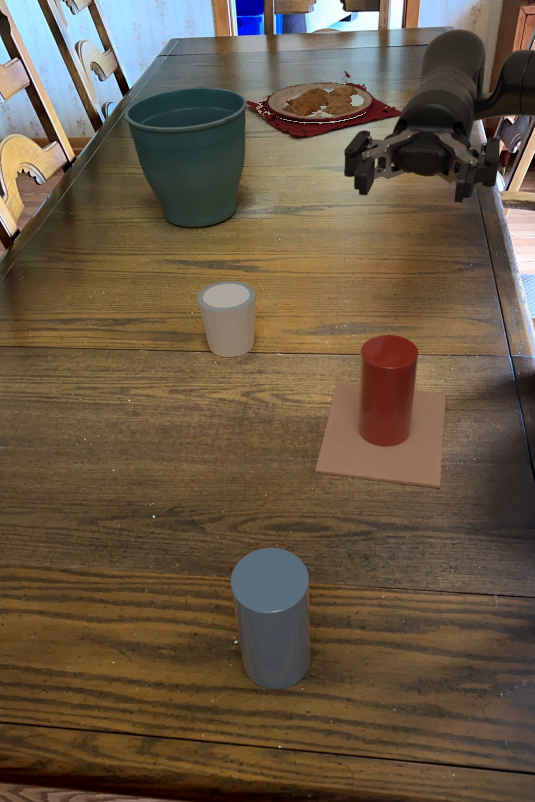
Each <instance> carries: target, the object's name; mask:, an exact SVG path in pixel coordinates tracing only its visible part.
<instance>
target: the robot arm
mask: <svg viewBox="0 0 535 802" xmlns="http://www.w3.org/2000/svg"><path fill="white" fill-rule="evenodd" d="M485 46H486V45H485V44H484V42H483V40H482V38H481V37H480V36H479V35H478V34H476V33H474V32H473V31H471V30H467V29H460V28H458V29H457V28H456V29H450V30H447V31H444V32H442V33H440V34H439V35H437V36H436V37H434V38H433V39H432V40H431V41H430V42H429V44H428V45H427V46H426V48H425V49H424V53H423V56H422V61H421V68H420V75H419V81H418V82H419V83H418V86H417V88H416V89H415V91H414V93H413V94H412V95H411V96H410V98H409V99H408V100H407V101H406V104H405V106H404V107H403V108H402V110H401V111H402V112H401V115H399V117H398V119H397V121H396V123H395V126H394V128H393V130H392V133H390V134H389V135H387V136H386V135H385V137H384V138H383V139H374V138H373V136H371V131H369V130H364V129H363V130H360V131H358V132H357V133H356V135H355V136H354V137H353V139H352V140H351V141H350V142H349V144H348V145H347V146H346V147H345V149H344V151H343V152H344V153H343V155H344V170H343V176H344V177H346V178H353V189H354V190H357V191H358V196H368V194H369V192H370V190H371V189H372V187H373V185H374V183H375V180H376V179H379V178H383V179H385V180H390V179H392V178H396V177H399V176H401V175H403V174H407V175H410V174H415V175H417V176H421V177H437V176H438V177H440V178H441V179H443V180H444V181H445V182H446V183H448V184H455V192H454V200H453V202H454V203H459V204H463V203H464V199H470V198H472V197H473V193H474V189H475V187H476V184H481V185H482V186H483V187H486V188H493V187H495V186H496V185H497V178H498V171H499V165H500V155H501V154H500V153H501V139H500V138H498V137H496V136H491V137H488V138H486V141H485V142H482V143H481V145H480V144H471V141H470V138H471V134H472V130H473V127H474V122H476V121H482V120H487V119H493V118H503V117H529V118H535V49H518V50H513V51H512V52H510V53H508V55H507V56H506V57H505V59H504V60H503V62H502V66H501V68H500V70H499V74H498V77H497V81H496V84H495V87H494V89H493V91H492V92H484V83H485V69H486V67H485V66H486V47H485ZM376 160H377V163H376ZM376 164H377V165H376Z"/></svg>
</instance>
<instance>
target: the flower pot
mask: <svg viewBox="0 0 535 802" xmlns="http://www.w3.org/2000/svg"><path fill="white" fill-rule="evenodd" d="M246 101H247V99H246V98H245V96H244V95H242V94H240V93H238V92H237V91H234V90H230V89H225V88H221V87H187V88H186V87H185V88H178V89H177V88H176V89H173V90H167V91H162V92H159V93H154V94H151V95H148V96H146V97H143V98H141V99H138V100H137V101H135V102H133V103H132V104H131V105H129V106H128V107H127V108H126V110H125V112H124V118H125V121H126V122H127V123H128V127H129V128H128V129H129V132H130V135H131V138H132V139H133V144H134V147H135V151H136V155H137V158H138V162H139V165H140V167H141V170H142V173H143V175H144V177H145V179H146V181H147V183H148V186H149V187H150V189H151V191H152V192H153V194H154V195H155V197H156V199H157V201H158V203H159V205H160V206H161V210H162V214H163V217H164V218H165V220H166V221H168V222H169V223H170V224H173V225H175V226H179V227H185V228H199V227H200V228H201V227H208V226H212V225H215V224H219V223H221V222H223V221H225V220H228V219H229V218H230V217H232V216H233V215H234V214H235V212H236V211H237V207H238V204H237V196H238V192H239V188H240V182H241V180H242V176H243V172H244V166H245V160H246V109H247V106H248V105H247V103H246Z"/></svg>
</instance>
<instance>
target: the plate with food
mask: <svg viewBox="0 0 535 802" xmlns="http://www.w3.org/2000/svg"><path fill="white" fill-rule="evenodd" d="M343 73H344V74H345V75H344V76H345V77H343V78H342V79H344V78H347V79H350V78H351V75H350V74H349V73H348V72H347V71H346V70H344V72H343ZM345 82H346V81H345ZM346 83H347V82H346ZM323 89H329V90H331V89H334V90H332V91H331V92H329V93H328V92H327V91H325V90H323ZM369 92H370V91H368V90H367V87H366V84H365V83H363V84H362V85H361V84H360V83H358V84H357V83H353V82H352V83H347V84H345V85H344V84H338V83H336V82H331V81H329V82H317V81H316V82H313V83H312V82H311V83H303V84H295V85H289V86H286V87H284V88H281V89H279V90H277V91H276V92H273V93H272V94H269V95H266V96H265V97H264V98H266V97H268V98H267V100H266V101H263V102H259V103H262V104H261V105H263V107H262V108H260V109H258V110H261V111H262V112H261V114H260V113H258V114H259V116H261V117H263V118H266V117H267V118H266V119H265V122H266V123H268V124H269V125H271V127H273V128H274V129H276V130H280V131H282V132H285V133H289V134H290V135H292V136H300V137H301V138H303V137H304V136H305V137H307V138H309V137H313V136H317V135H322V134H326V133H329V131H331V130H333V129H335V130H336V129H340V128H344V127H345V126H353V125H357V124H365V123H369V122H370V121H373V120H377V121H379V120H382V119H385V118H388V117H398V116H400V115H401V112H402V110H399V109H397V108H396V106H391V105H388V104H387V103H384V102H383V101H382V100H379V99H377V98H375V97H374V96H373V95H372V93H371V92H370V93H371V94H370V93H369ZM299 94H302V95H300V96H299V97H297V98H295V99H290V100H289V101H288V99H289V98H292V97H294V96H296V95H299ZM357 94H358V95H359V96H361V97H362V98H363V99H364V102H363V104H361V105H359V106H352V104H350V103H351V102H352V99H351V97H350V96H352V95H357ZM251 101H252V100H246V105H247V106H248V107H250V108H251V109H252V110H256V112H257V111H258V110H257V109H256V107H257V106H260V105H259V104H257V103H254V102H251ZM284 101H285V102H286V103H288V104H289V105H288V106H286V107H285V108H283V106H285V105H284V104H286V103H285V102H284ZM320 106H327V107H326V108H325V109H323V110H322V109H321V107H320ZM385 107H387V108H385ZM264 109H265V110H264ZM318 110H322V112H326V113H328V114H331V115H334V116H331V117H322V116H319V115H321V113H317V114H316V116H314V117H306V116H308V115H311V114H314V113H312V112H317V111H318ZM265 111H267V112H268V111H269V112H270V113H271V114H270V115H268V113H264V112H265ZM385 111H387V112H385ZM365 112H366V113H365ZM263 113H264V114H263ZM364 113H365V114H364ZM262 114H263V115H264V116H263V115H262ZM361 114H363V115H361ZM358 115H361V116H358ZM276 116H277V117H276ZM356 116H358V117H356ZM278 117H279V118H278ZM353 117H356V118H353ZM280 118H282V119H280ZM349 118H353V119H349ZM283 119H287V120H292V121H287V120H283ZM344 119H349V120H345V121H340V122H335V123H322V124H319V123H305V124H304V123H299V122H330V121H339V120H344ZM293 121H298V122H293Z"/></svg>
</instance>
